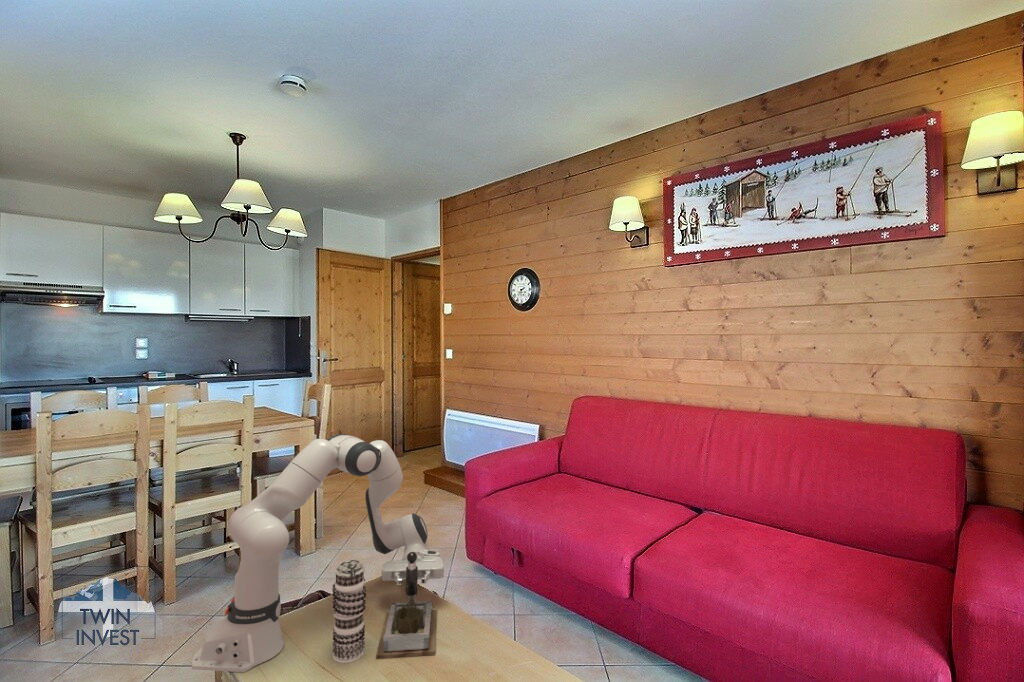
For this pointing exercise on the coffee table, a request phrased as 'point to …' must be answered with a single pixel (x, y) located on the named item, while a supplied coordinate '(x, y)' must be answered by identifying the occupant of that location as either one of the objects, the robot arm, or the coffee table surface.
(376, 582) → the coffee table surface
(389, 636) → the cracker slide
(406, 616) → the cup
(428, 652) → the base
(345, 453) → the robot arm
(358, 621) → the decorative candle
